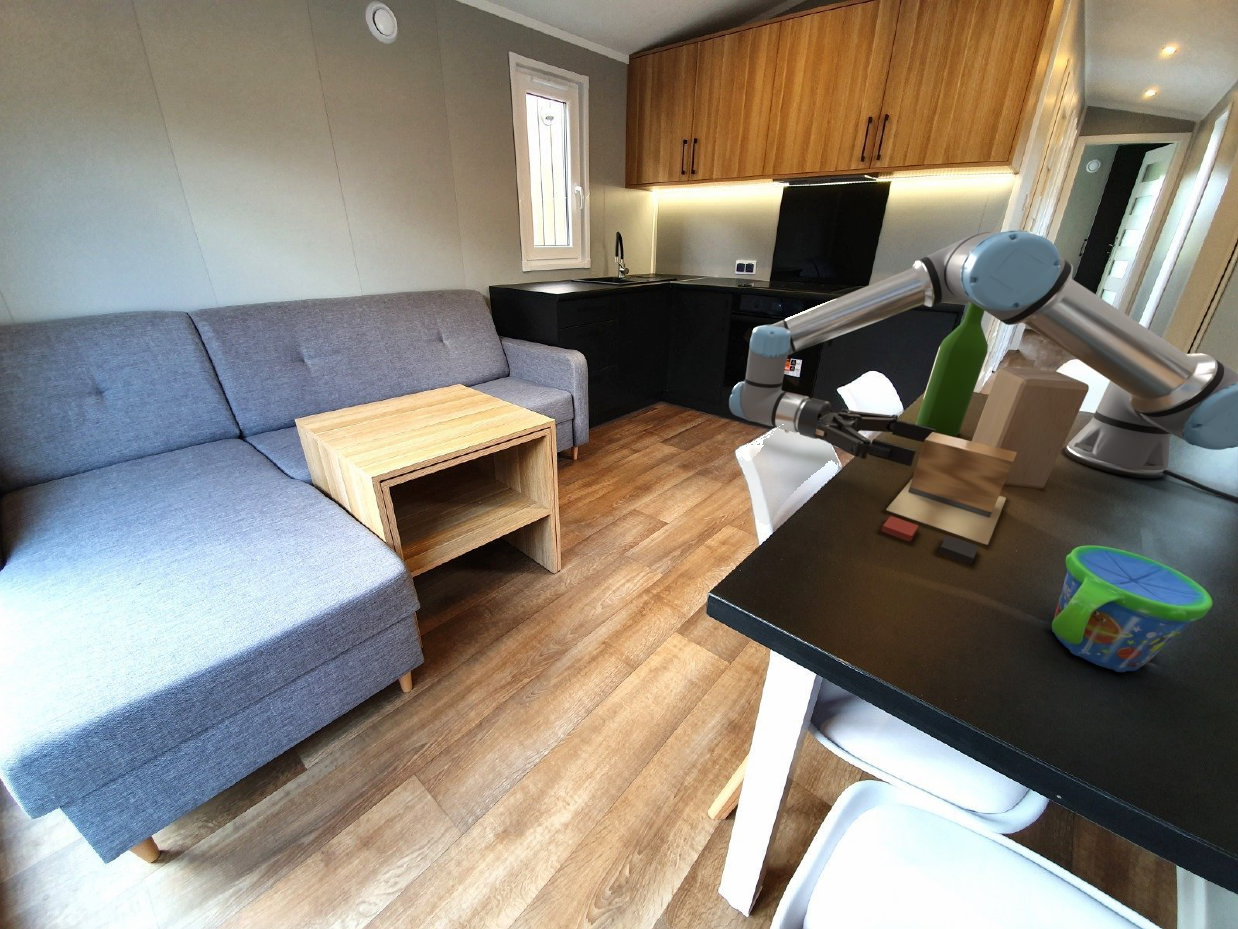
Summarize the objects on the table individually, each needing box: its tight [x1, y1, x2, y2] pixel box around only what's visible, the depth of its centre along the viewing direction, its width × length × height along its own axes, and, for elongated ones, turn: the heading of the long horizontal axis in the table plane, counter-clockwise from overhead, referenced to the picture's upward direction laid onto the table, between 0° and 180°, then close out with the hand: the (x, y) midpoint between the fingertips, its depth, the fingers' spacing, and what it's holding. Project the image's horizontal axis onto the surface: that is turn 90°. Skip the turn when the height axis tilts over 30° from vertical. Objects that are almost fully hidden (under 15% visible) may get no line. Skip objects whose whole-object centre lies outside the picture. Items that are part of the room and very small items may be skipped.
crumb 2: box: [938, 535, 980, 565], centre depth 69 cm, size 4×4×2 cm
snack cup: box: [1051, 545, 1213, 673], centre depth 52 cm, size 16×10×10 cm
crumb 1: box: [880, 515, 920, 543], centre depth 74 cm, size 4×4×2 cm
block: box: [971, 366, 1090, 490], centre depth 89 cm, size 10×10×20 cm
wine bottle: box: [915, 302, 989, 438], centre depth 109 cm, size 9×9×32 cm
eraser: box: [908, 432, 1017, 518], centre depth 81 cm, size 12×5×10 cm, turn 48°
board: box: [886, 478, 1007, 545], centre depth 82 cm, size 14×20×1 cm
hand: (923, 446), depth 84 cm, fingers open, 13 cm apart
